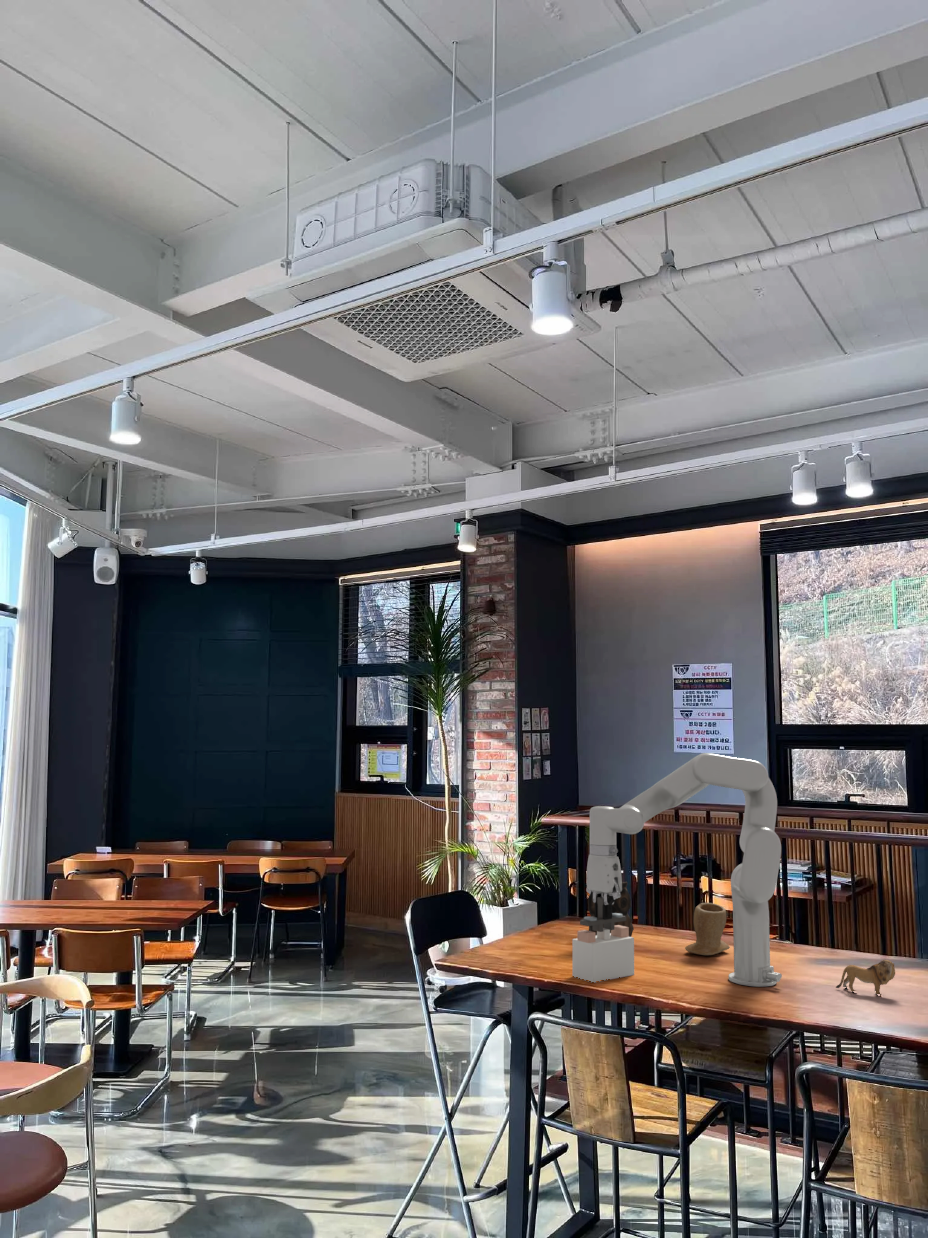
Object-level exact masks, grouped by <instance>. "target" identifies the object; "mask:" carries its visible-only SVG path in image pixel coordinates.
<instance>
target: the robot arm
mask: <svg viewBox="0 0 928 1238" xmlns="http://www.w3.org/2000/svg"><path fill="white" fill-rule="evenodd" d="M709 785H711V786H717V787H719V788H720V787H721V788H728V789H734V790H739V791H740V790H741V791H742V793H743V795H744V801H745V803H744V815H743V819H742V825H741V831H740V836H739V847H740V849H741V851H742V852H743V857H742V862H741V863H740V864H738V865H737V866H736V867H735V868H734V869H733V871H732V872H731V875H730V876H731V877H730V889H731V899H732V901H731V902H732V920H733V921H732V927H733V928H732V931H733V934H732V935H733V938H732V939H733V972H731V973H729V974H728V980H729V981H730V982H731V983H735V984H737V985H742V986H747V987H754V988H755V987H757V988H758V987H760V988H762V987H763V988H764V987H766V988H767V987H772V986H775V985H776V984H777V983H780V981H781V979H782V977H783V976H782V975H783V974H782V973H780V972H775V968H774V966H773V965H771V950H770V949H771V945H770V939H771V938H770V911H769V908H770V907H769V901H770V899H771V898H772V897H773V895H774V893H775V891H776V889H777V888H776V887H777V883H778V875H779V870H780V865H781V864H780V863H781V856H782V844H781V839H780V837H779V835H778V834H777V833H776V832H775V828H776V821H777V812H778V811H777V810H778V798H777V792H776V789H775V787H774V785H773V782H772V780H771V778H770V777H769V773H768V770H767V768H766V767H765V765H764V764H763V763H761V762H759V760H758V761H757V760H754V759H753V760H752V759H747V758H740V757H738V758H737V757H732V756H727V755H726V756H725V755H720V754H715V753H711V752H703V753H700V754H698V755H695V756H694V757H692V758H691V759H690V760H689V761H687V762H685V763H684V764H681V766H679V767H678V768H676V769H675V770H673V772H671V773H669V774H668V775H666V776H665V777H663V778H661V779H660V780H658V781H657V782H655V784H653V785H652V786H650V787H649V788H648V789H646V790H644V791H642V792H641V793H639V794H638V795H636V796H635V797H634V798H632V799H631V800H629V801H627V802H626V803H625V804H623V805H622V806H620V807H619V808H616V807H615V808H614V807H613V806H608V805H605V806H603V805H602V806H601V805H598V806H593V807H591V808H590V809H589V854H588V856H587V857H588V858H587V866H586V890H585V891H586V892H587V893H588V894H589V895H590V894H591V896H592V898H593V902H594V903H595V917H597V897H603V893H604V905H603V906H602V907H603V919H604V920H606V919H612V904H614V901H615V900H616V899H618V898H620V897H621V894H620V892H621V891H622V882H623V878H622V869H621V863H620V859H619V856H617V855H618V854H617V853H618V852H619V849H618V848H617V833H621V834H626V835H635V834H638V833H639V832H641V831H642V830H643V828H644V826H645V823H646V822H648V821H650V820H651V819H652V818H653V817H654V818H655V816H656V815H659V814H660V813H663V812H664V811H666V810H669V809H673V808H675V807H677V806H680V805H681V804H683V803H684V802H686V801H687V800H689V799H691V798H692V797H693V796H695V795H696V794H698V793H699V792H700V791H702V790H705V788H707V787H708V786H709ZM598 893H599V895H598ZM608 895H609V898H608Z"/></svg>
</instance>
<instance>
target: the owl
mask: <svg viewBox="0 0 928 1238" xmlns="http://www.w3.org/2000/svg"><path fill="white" fill-rule="evenodd" d="M627 886H628V882H627V881H622V891H621V892H620V894H621V897H620V898H618V899H616V900H615V901H614V904H612V913H620V914H623V916H626V921H621V922H614V926H615V925H621V926H625V927H629V937H633V931H634V930H635V928H634V925H633V924H632V923H633V919H632V918H631V916H630V915H629V910H630V909H631V907H632V899H631V894H630V893H629V891H628V888H627ZM598 895H599V893H598ZM603 897H604V893H603ZM608 898H609V895H608ZM587 910H588V912H589V914H590V915H589V916H590V917H595V903H594V902H593V898H592V896H591V894H589V895H588V897H587ZM603 928H604V924H603ZM588 931H592V932H595V936H596V935H597V931H594V930H592V926H588ZM610 933H611V930H610Z"/></svg>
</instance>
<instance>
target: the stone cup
mask: <svg viewBox="0 0 928 1238" xmlns="http://www.w3.org/2000/svg"><path fill="white" fill-rule="evenodd" d="M726 924H727V911H726V909H725V907H724V906H721V905H719V904H717V903H713V902H701V903H699V904H698V905H697V906H696V907H695V909H694V912H693V928H694V931H695V936H696V937H695V938H696V939H695V942H693V943H690V944H688V945H686V946H685V947H684V950H685V951H687V952H688V953H691V954H695V955H701V956H713V955H716V954H719V953H722V952H725V951H727V950H729V949H730V947H731V946H730V945H729V944H728V943H726V942H725V941H724V940H722V936H723V932H724V929H725V927H726Z"/></svg>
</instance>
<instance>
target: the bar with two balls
mask: <svg viewBox="0 0 928 1238" xmlns="http://www.w3.org/2000/svg"><path fill="white" fill-rule="evenodd" d="M603 905H604V897H597V917H591V916H590V915H589V916H583V918H582V919H579V925H581V926H585V927H589V926H592V930H594V931H598V932H603V924H604V928H605V929H609V930H614V922H621V921H626V916H623V914H620V913H612V919H606V920H604V919H603V907H602V906H603Z"/></svg>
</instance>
